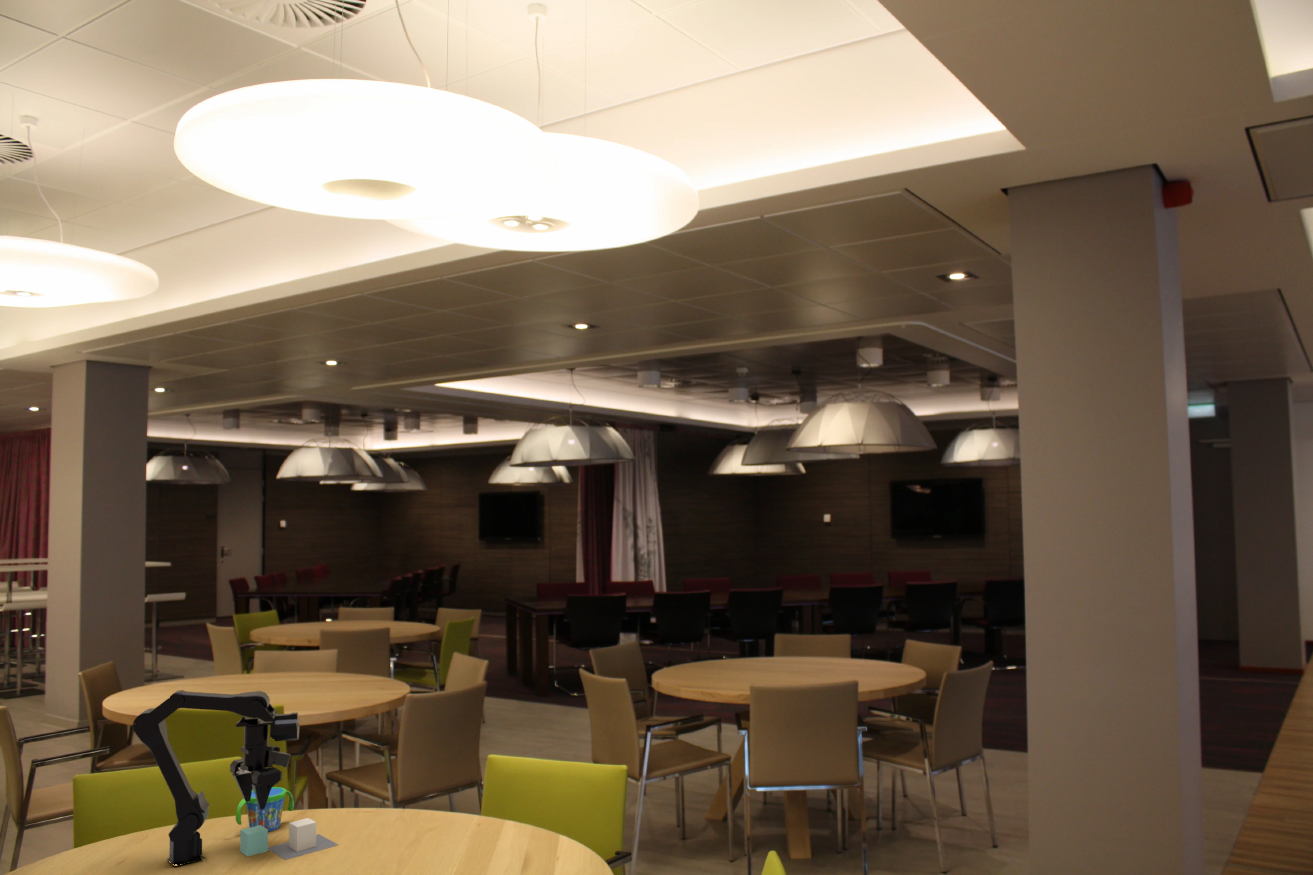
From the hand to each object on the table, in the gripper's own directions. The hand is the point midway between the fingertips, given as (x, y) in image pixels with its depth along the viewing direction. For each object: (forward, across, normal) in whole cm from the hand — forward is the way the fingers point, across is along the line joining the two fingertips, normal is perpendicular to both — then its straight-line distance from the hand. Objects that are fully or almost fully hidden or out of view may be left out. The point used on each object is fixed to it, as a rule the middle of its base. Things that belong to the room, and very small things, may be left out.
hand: (254, 804), depth 240 cm
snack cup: (+12, +16, -9) cm, 22 cm away
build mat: (+12, -6, -10) cm, 17 cm away
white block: (+11, -6, -10) cm, 16 cm away
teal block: (+12, 0, 0) cm, 12 cm away
